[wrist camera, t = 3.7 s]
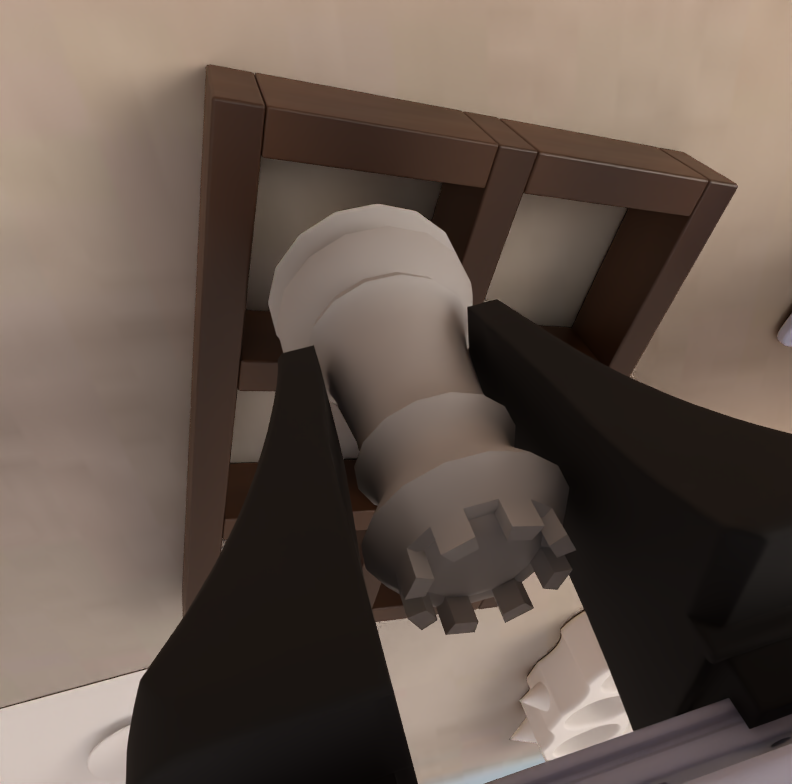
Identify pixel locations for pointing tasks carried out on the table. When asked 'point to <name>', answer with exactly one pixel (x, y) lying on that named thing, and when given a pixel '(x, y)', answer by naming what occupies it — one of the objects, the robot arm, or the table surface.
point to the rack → (455, 214)
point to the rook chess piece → (421, 417)
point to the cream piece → (70, 735)
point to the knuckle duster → (572, 696)
